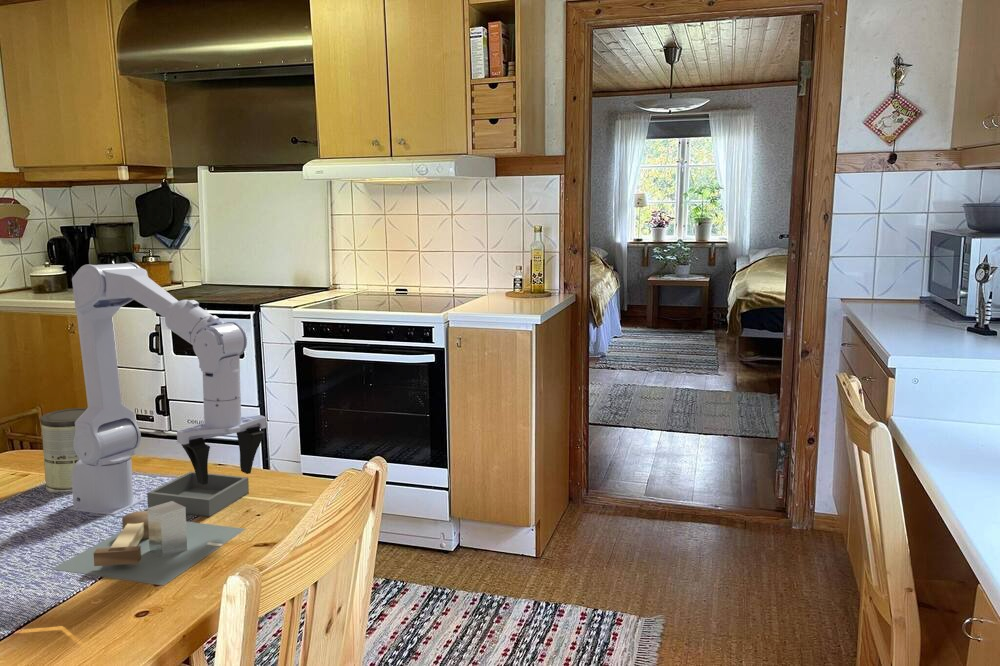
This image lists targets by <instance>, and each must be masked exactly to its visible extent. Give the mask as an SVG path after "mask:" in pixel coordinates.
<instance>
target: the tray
mask: <svg viewBox="0 0 1000 666" xmlns="http://www.w3.org/2000/svg"><path fill="white" fill-rule="evenodd" d="M249 490H250V489H249V477H248V476H239V475H238V476H236V475H227V474H218V473H209V472H208V484H205V485H202V484H201V483H199V482H198V481H197V477H196V473H195V471H192V470H191V471H189V472H187V473H185V474H182V475H181V476H179V477H177V478H174V479H173V480H172V479H171V481H168V482H166V483H164V484H163V485H160V486H159V487H156V488H155V489H153V490H150V491H149V492H147V493H146V494H147V495H146V496H147V509H148V508H149V507H153V506H156V505H160V504H163V503H167V502H170V501H173V502H175V503H178V504H180V505H182V506H184V507H186V516H194V517H195V516H196V517H204V518H211V517H213V516H215V515H216V514H218V513H219V512H221V511H223V510H224V509H226V508H227V507H230V506H231V505H232V504H234V503H235V502H237V501H239V500H241V499H243V498H244V497H245V496H247V495H249Z"/></svg>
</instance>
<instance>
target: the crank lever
mask: <svg viewBox="0 0 1000 666" xmlns="http://www.w3.org/2000/svg"><path fill="white" fill-rule="evenodd" d="M121 521H122V530H121V531H122V532H121V531H120V532H121V533H120V535H119V536H118V537H117V539H116V540H115V542H114V543H113V544H112V546H111V547H110V548H100V549H96V551H95V552H94V553H93V554H94V566H106V565H121V564H137V563H139V562H140V560H141V546H137V545H138V543H139V542H140V540H143V539H147V538H149V528H148V510H140V511H139V510H138V511H134V512H130V513H128V514H125V515H124V516H122V520H121Z"/></svg>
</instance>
